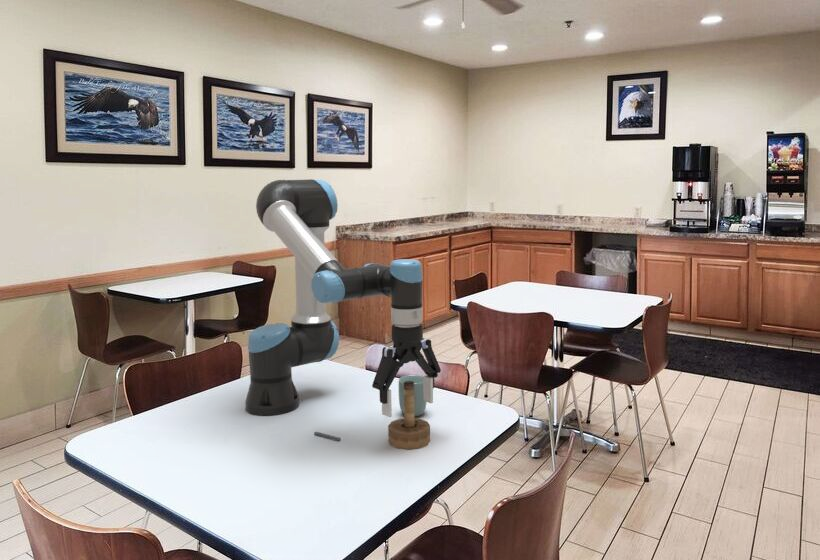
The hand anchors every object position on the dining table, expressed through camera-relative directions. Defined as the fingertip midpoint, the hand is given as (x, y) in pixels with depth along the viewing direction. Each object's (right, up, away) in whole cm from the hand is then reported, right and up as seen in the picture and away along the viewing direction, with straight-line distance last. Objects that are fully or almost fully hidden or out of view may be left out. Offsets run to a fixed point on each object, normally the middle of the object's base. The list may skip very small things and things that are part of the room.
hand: (408, 408), depth 154 cm
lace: (-20, -8, +4) cm, 22 cm away
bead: (0, -8, +1) cm, 8 cm away
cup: (+1, -6, +19) cm, 20 cm away
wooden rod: (0, -8, +1) cm, 8 cm away
